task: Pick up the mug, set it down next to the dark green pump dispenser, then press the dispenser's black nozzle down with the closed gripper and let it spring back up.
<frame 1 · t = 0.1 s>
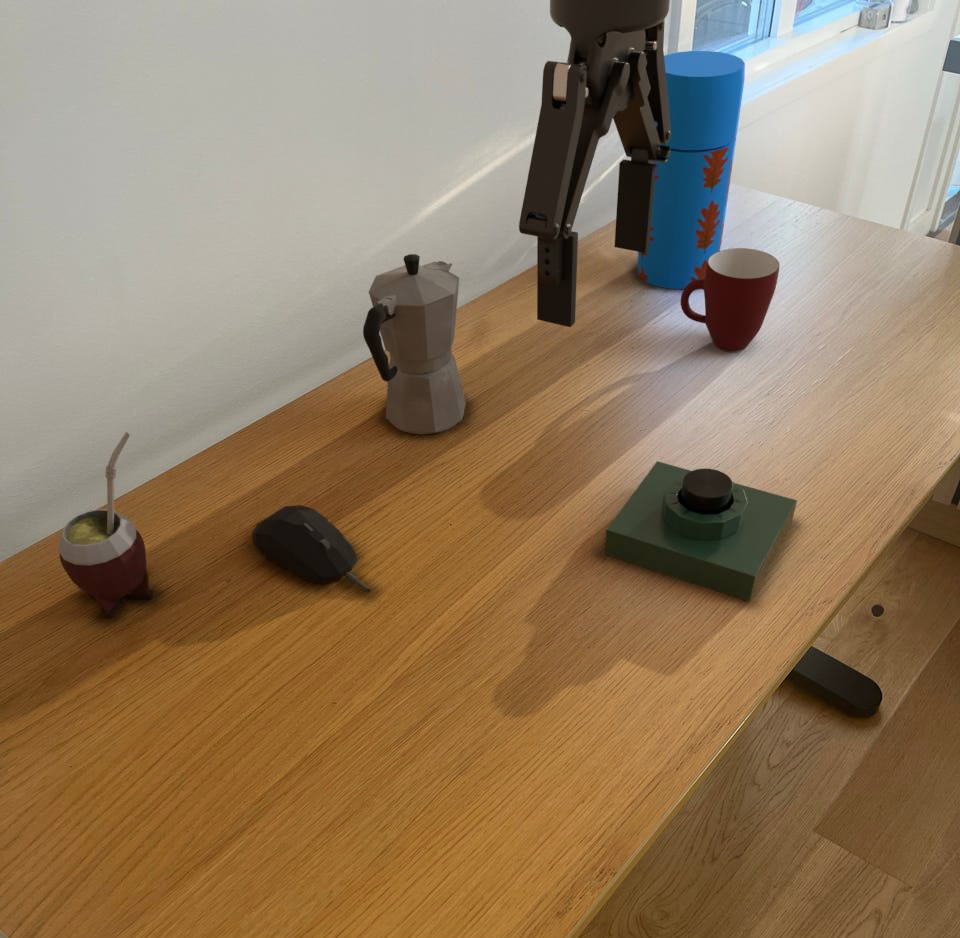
hand: (595, 283, 73), 25 cm above the table, tool pointing down, fingers open, 13 cm apart
nozzle: (706, 491, 85), point 6 cm above the table, slide at 0.1 cm
thermos: (676, 273, 129), on the table
dispenser: (698, 539, 89), on the table
coffeepot: (421, 419, 106), on the table
gaming mouse: (316, 560, 90), on the table
mug: (719, 345, 115), on the table
mate gourd: (126, 593, 88), on the table
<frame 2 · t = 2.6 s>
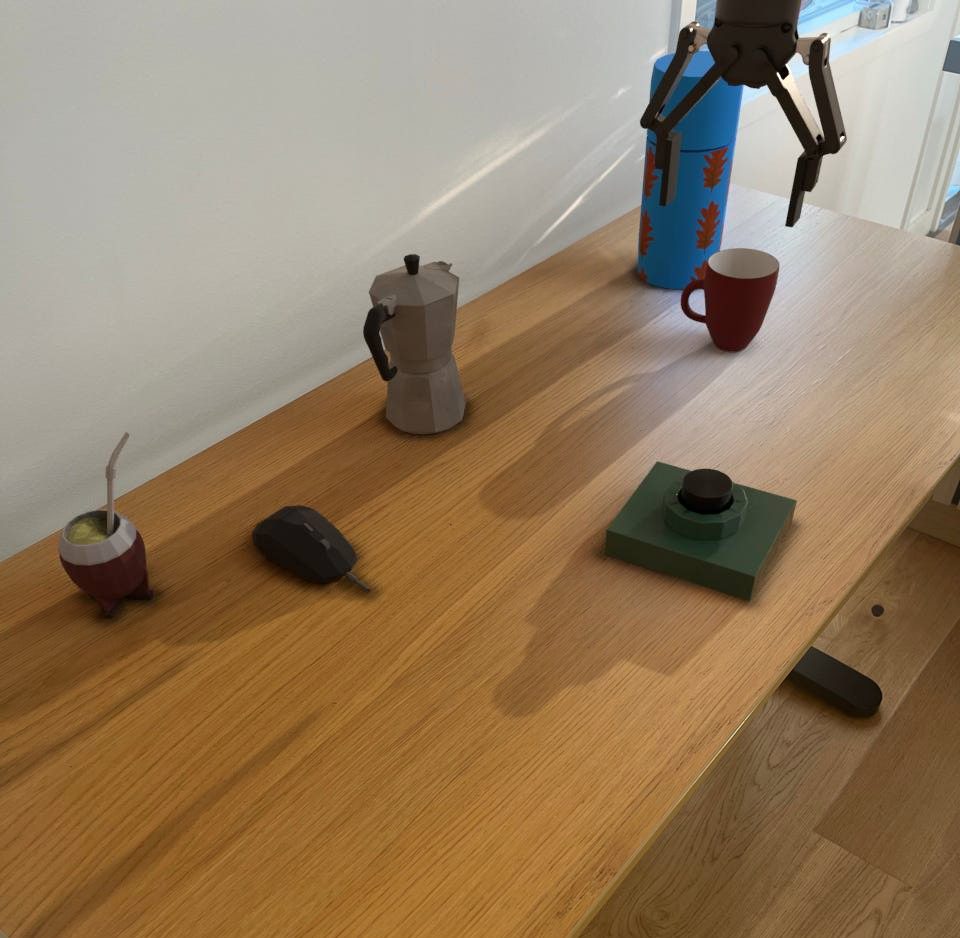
hand: (728, 211, 99), 17 cm above the table, tool pointing down, fingers open, 13 cm apart
nothing on the table moved.
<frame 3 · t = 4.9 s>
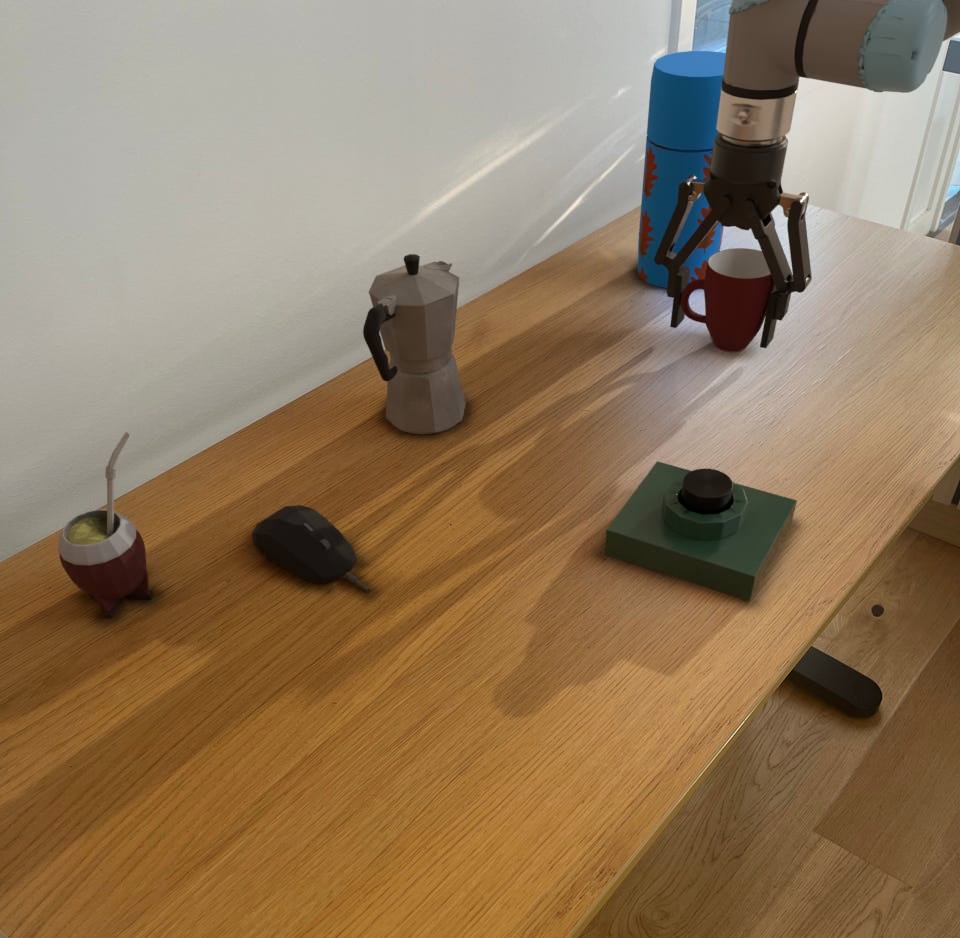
hand: (721, 332, 114), 1 cm above the table, tool pointing down, fingers closed on mug, 10 cm apart
mug: (719, 345, 115), on the table, touching gripper
everything else where it was.
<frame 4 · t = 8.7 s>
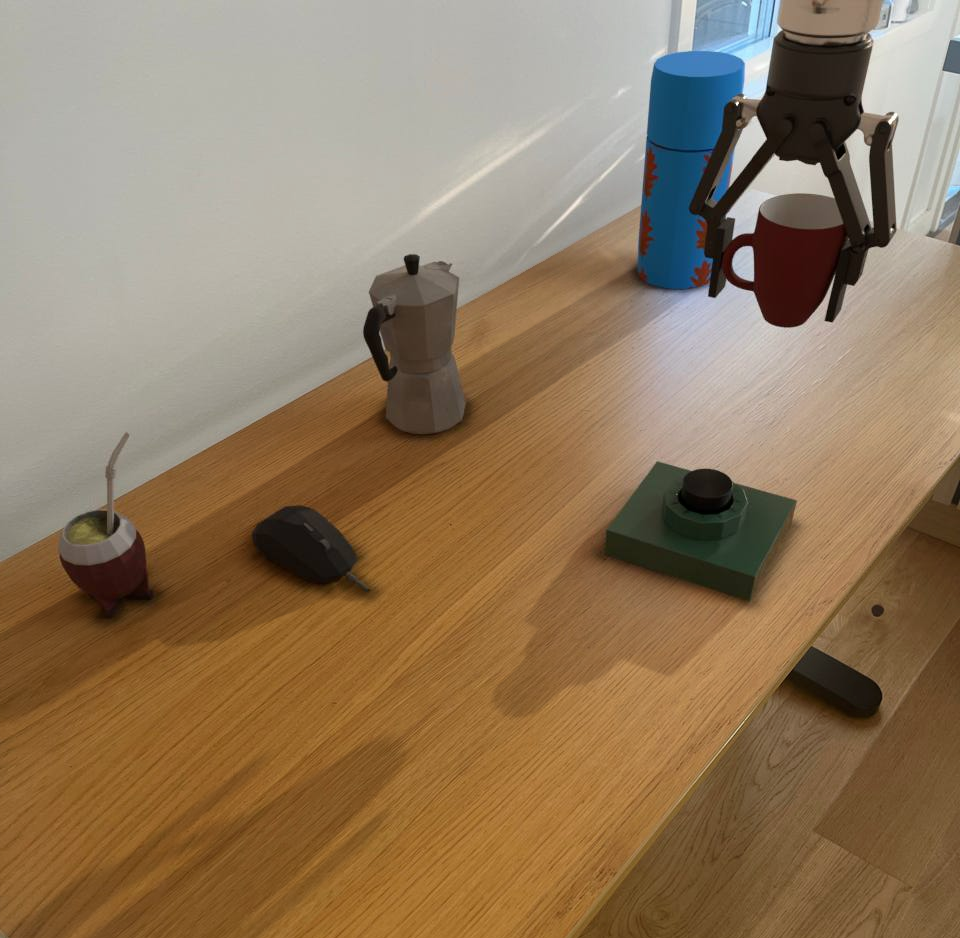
hand: (773, 303, 89), 15 cm above the table, tool pointing down, fingers closed on mug, 10 cm apart
mug: (770, 319, 90), point 14 cm above the table, touching gripper
everything else where it was.
when the fingers open (1 cm above the table, at t = 12.5 s): mug stays where it is, on the table.
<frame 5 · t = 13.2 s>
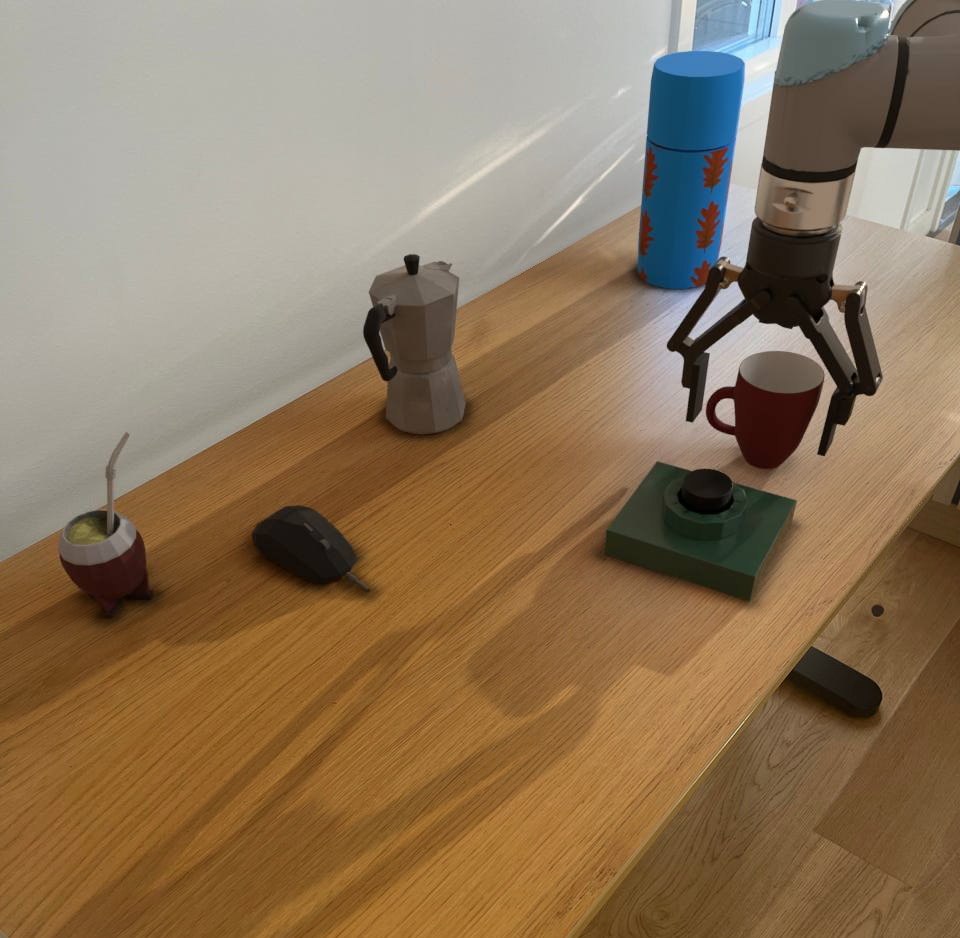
hand: (757, 431, 96), 3 cm above the table, tool pointing down, fingers open, 13 cm apart
mug: (750, 459, 98), on the table
everything else where it was.
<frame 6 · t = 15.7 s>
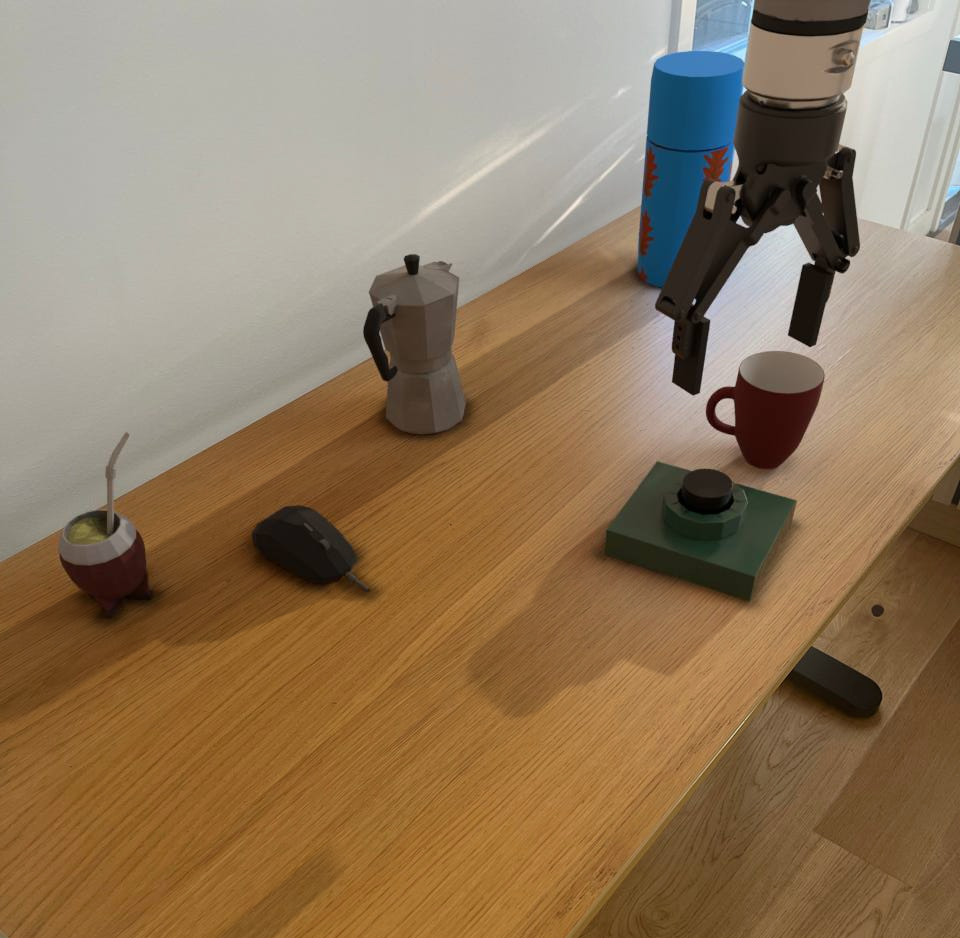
hand: (745, 363, 82), 15 cm above the table, tool pointing down, fingers open, 13 cm apart
nothing on the table moved.
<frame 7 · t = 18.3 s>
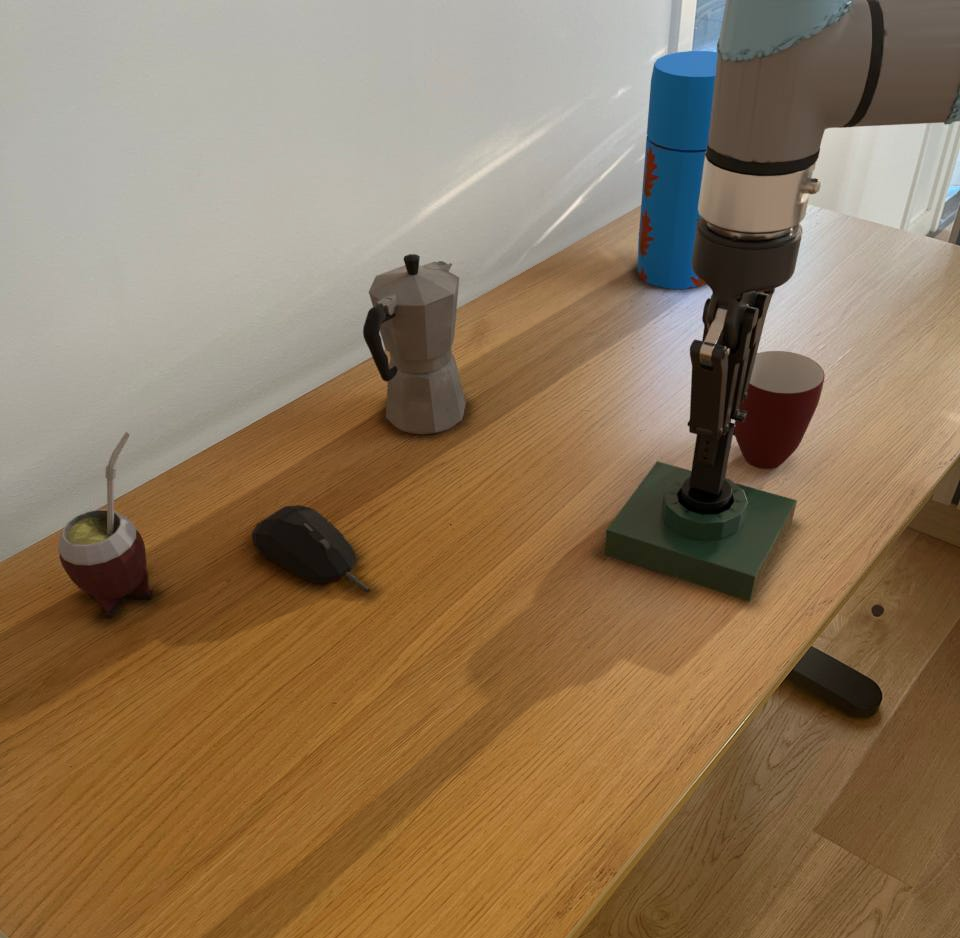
hand: (706, 486, 85), 6 cm above the table, tool pointing down, fingers closed
nozzle: (705, 497, 86), point 5 cm above the table, slide at -0.6 cm, touching gripper
everything else where it was.
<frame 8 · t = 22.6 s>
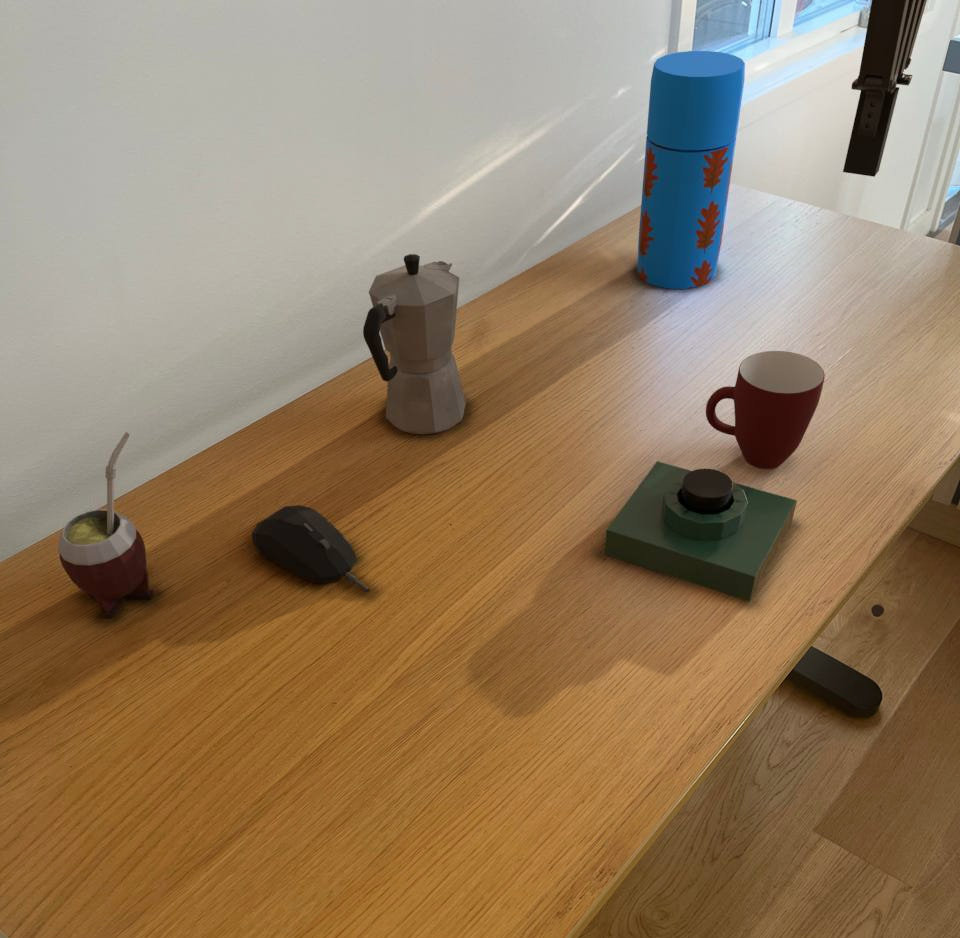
hand: (860, 171, 82), 26 cm above the table, tool pointing down, fingers closed
nozzle: (706, 491, 85), point 6 cm above the table, slide at 0.1 cm
everything else where it was.
at the end: mug inside the target area on the table beside the dispenser (0.0 cm from its centre), on the table; nozzle pushed in 1.2 cm at the most during the clip, back to where it started at the end; nozzle slide at 0.1 cm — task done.
